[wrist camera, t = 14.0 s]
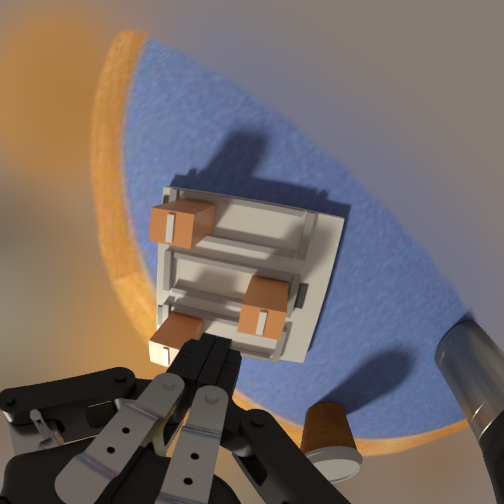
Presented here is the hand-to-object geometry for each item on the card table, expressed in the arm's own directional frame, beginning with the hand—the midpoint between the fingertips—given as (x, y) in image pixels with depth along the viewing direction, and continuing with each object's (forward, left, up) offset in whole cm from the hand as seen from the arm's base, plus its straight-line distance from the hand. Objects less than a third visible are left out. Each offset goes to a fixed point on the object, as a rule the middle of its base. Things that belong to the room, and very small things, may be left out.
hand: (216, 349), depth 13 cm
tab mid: (-2, +4, -17) cm, 18 cm away
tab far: (+7, +11, -17) cm, 21 cm away
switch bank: (+1, +4, -19) cm, 19 cm away
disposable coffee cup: (-16, +25, -19) cm, 35 cm away
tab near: (+7, -3, -17) cm, 19 cm away
